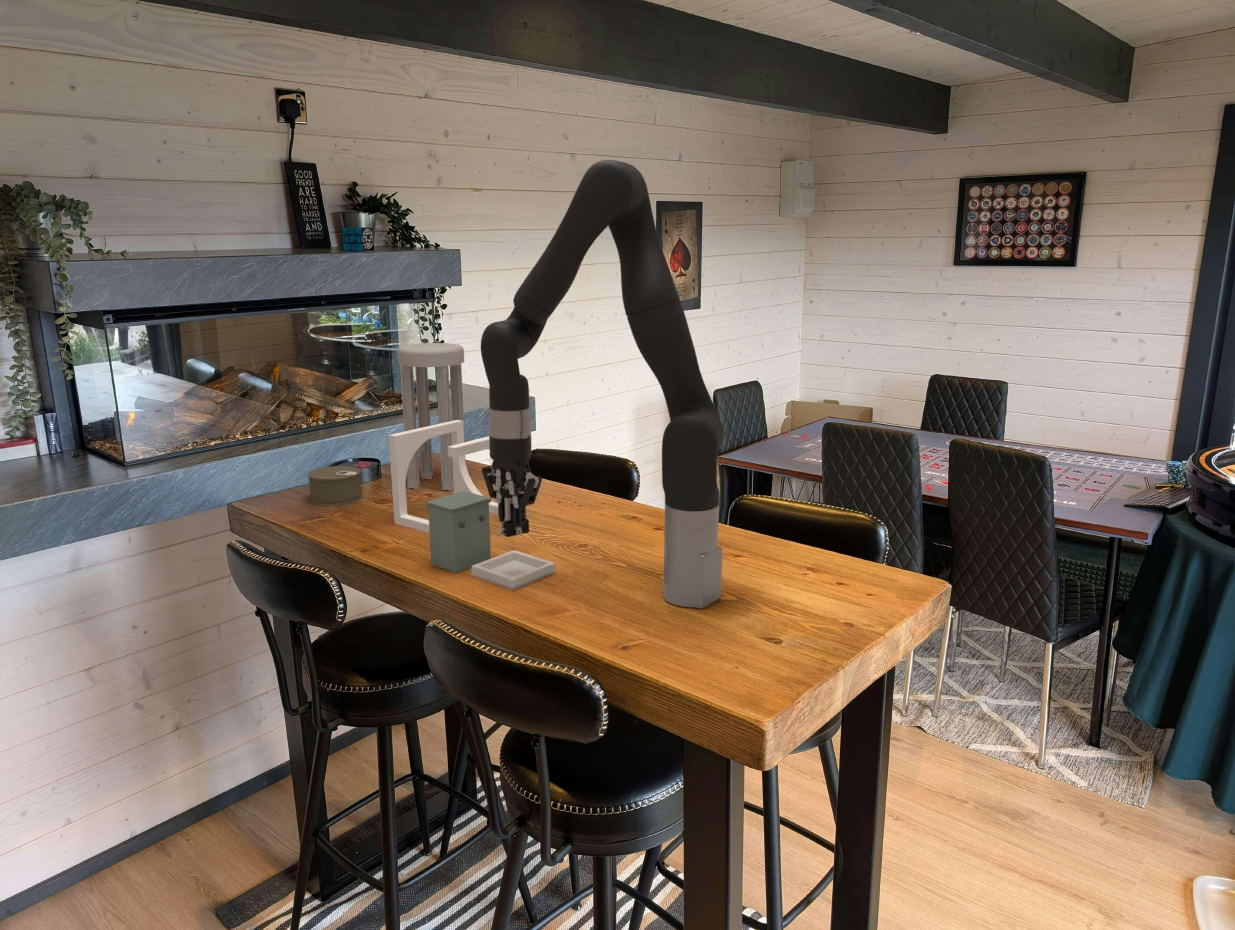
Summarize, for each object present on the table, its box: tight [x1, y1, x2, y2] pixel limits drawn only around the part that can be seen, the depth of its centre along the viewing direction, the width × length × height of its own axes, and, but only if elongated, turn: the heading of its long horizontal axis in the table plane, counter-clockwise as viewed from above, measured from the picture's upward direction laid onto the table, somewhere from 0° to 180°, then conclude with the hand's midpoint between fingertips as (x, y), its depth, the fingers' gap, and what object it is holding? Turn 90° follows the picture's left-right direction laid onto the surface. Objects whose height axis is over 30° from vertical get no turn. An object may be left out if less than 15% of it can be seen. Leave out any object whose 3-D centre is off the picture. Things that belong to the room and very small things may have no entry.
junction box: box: [425, 491, 492, 574], centre depth 169 cm, size 8×10×13 cm
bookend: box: [388, 420, 499, 535], centre depth 193 cm, size 20×20×20 cm
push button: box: [495, 483, 530, 538], centre depth 161 cm, size 7×5×10 cm
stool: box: [396, 342, 467, 492], centre depth 220 cm, size 16×16×35 cm
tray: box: [471, 549, 557, 591], centre depth 164 cm, size 11×11×2 cm
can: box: [307, 465, 363, 507], centre depth 210 cm, size 12×12×7 cm
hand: (512, 523), depth 162 cm, fingers closed on push button, 3 cm apart
